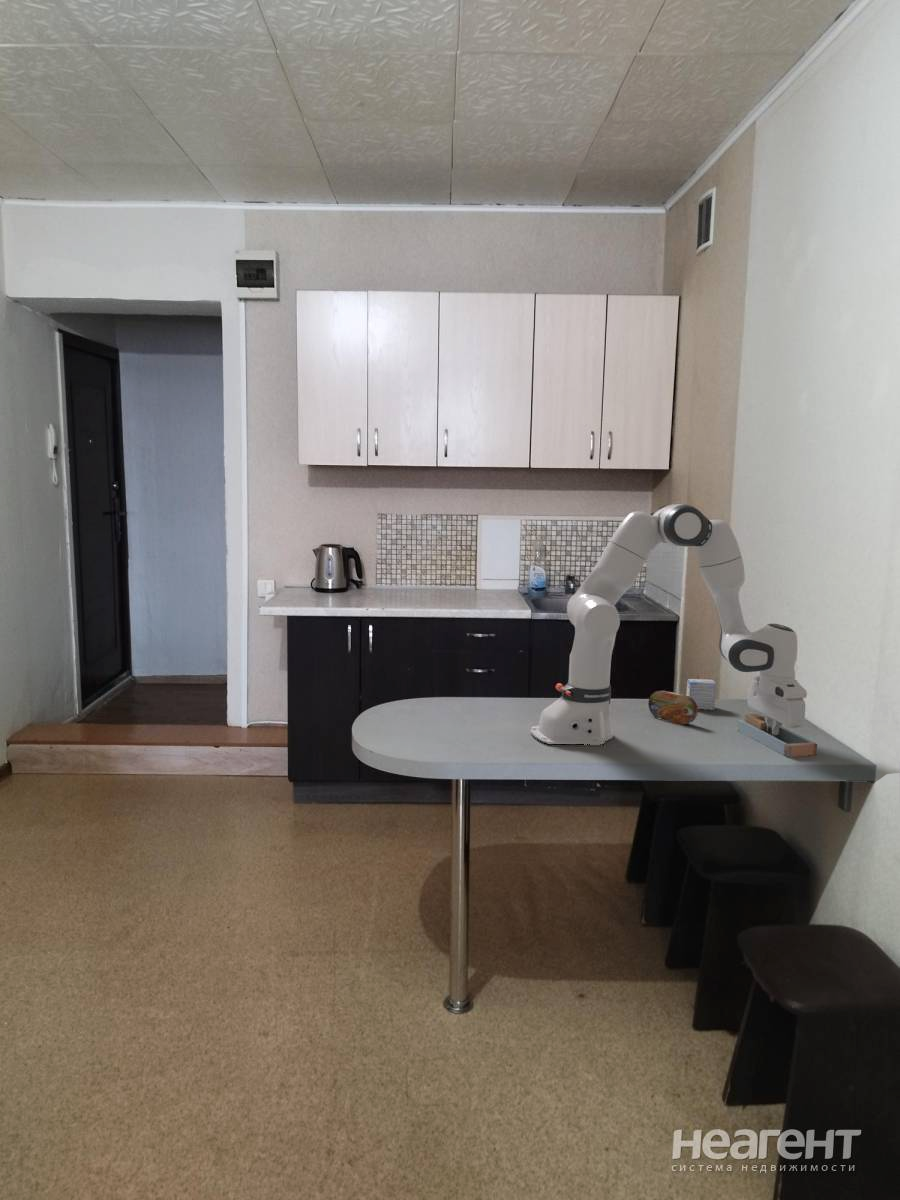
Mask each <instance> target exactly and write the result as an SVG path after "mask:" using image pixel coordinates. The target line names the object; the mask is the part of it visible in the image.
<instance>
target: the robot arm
mask: <svg viewBox="0 0 900 1200" xmlns="http://www.w3.org/2000/svg"><path fill="white" fill-rule="evenodd" d="M660 543H663V544H664V543H666V544H667V545H670V546H674V547H675V546H676V547H685V548H686V547H691V548H692V550H693V551H694V554H695V555H696V559H697V563H698V567H699V571H700V574H701V577H702V579H703V581H704V584H705V586H706V588H707V590H708V591H709V593H710V595H711V596H712V598H713V601H714V604H715V608H716V612H717V617H718V621H719V624H720V631H721V632H720V637H719V642H718V648H719V653H720V654H721V656H722V657H723V659H724V660H726V661H727V662H728V663H729V664H730V665H731V667H732V668H733V669H735V670H736V671H738V672H740V673H741V672H742V673H752V672H759V676H755V677H754V678H753V679H752V681H751V684H750V686H749V690H748V696H747V706H748V708H749V709H751V710H754V711H755V712H757V713H758V714H763V715H765V722H766V725H767V732H769V733H771V734H773V735H778V734H779V728H780V727H781V726H782V725H785V726H787V727H789V728H791V729H794V728H801V727H803V725H804V723H805V718H806V701H805V700H804V699H806V698H807V695H808V692H807V690H806V689H805V688H804V687H803V686H802V685H801V684H800V683H799V682H798V680H797V679H796V670H795V666H796V662H797V659H798V635H797V633H796V632H795V631H794V630H793V629H792V628H790V627H789V626H786V625H783V624H780V623H767V624H766V625H765V626H764V627H761V628H760V629H758V630H756V631H753V632H751V631H750V630H749V629H748V627H747V625H746V624H745V621H744V616H743V611H742V608H741V603H740V598H739V596H740V595H739V594H740V590H741V588H742V587H743V585H744V583H745V580H746V577H745V565H744V561H743V557H742V553H741V549H740V546H739V543H738V541H737V538H736V536H735V534H734V532H733V529H732V527H731V526H730V524H729V523H728V522H727V521H725V520H723V519H710V520H709V519H708V518H707V517H706V515H704V513H702V511H701V510H699V509H698V508H697V507H696V506H693V505H688V504H684V503H669V504H666V505H663V506H661V507H660V508H658V509H657V510H654V512H651V513H648V512H644V511H639V510H637V511H636V510H635V511H632V512H630V513H629V514H627V516H625V518H624V519H623V520H622V522H620V524H619V525H618V526H617V528H616V530H615V531H614V532H613V535H612V536H611V537H610V539H609V541H608V542H607V545H606V547H605V549H604V550H603V551H602V553H601V556H600V557H599V559H598V561H597V563H596V564H595V566H594V567H593V568H592V570H591V572H590V573H589V575H588V576H587V577H586V578H585V580H584V581H583V582H582V583H581V585H580V586H579V587H578V588H577V590H576V591H575V593H574V594H573V595H572V596H571V597H570V598H569V600H568V602H567V606H566V615H567V617H568V620H569V622H570V623H571V624H572V625H573V626H574V637H573V638H574V639H573V644H572V648H571V652H570V653H569V664H568V681H567V683H566V684H565V685H564V684H562V683H560V682H559V683H556V685H555V689H556V690H557V691H558V692H560V693H561V696H560V697H559V698H557V700H555V701H554V702H552V703H551V704H549V705H548V706H547V707H545V708H544V709H543V710H542V711H541V713H540V716H539V721H538V725H534V726H531V728H530V733H531V732H532V733H533V734H534V735H535V736H536V737H537V738H539V739H540V740H542V741H544V742H546V743H550V744H584V745H583V746H603V745H602V744H604V743H605V744H606V742H608V741H610V740H611V739H613V737H614V732H613V729H612V724H611V715H610V705H611V697H612V685H611V684H610V683H611V682H610V679H611V666H612V665H611V664H612V663H611V662H612V654H613V650H614V646H615V641H616V638H617V637H616V636H617V632H618V630H619V628H620V624H621V618H620V615H619V611H618V609H617V607H616V604H617V603H618V602H619V600H620V599H621V598H622V597H623V595H624V594H625V593H626V592H627V591H629V590H630V589H631V588H632V587H633V586H634V583H635V582H636V580H637V578H638V576H639V575H640V573H641V571H642V570H643V568H644V565H646V563H647V560H648V559H649V556H650V555H651V553H652V551H653V550H654V549H655V548H656V546H658V544H660ZM533 729H535V730H533ZM544 739H545V740H544ZM609 739H610V740H609ZM605 741H606V742H605ZM587 744H588V745H587ZM589 744H590V745H589ZM600 744H601V745H600ZM605 744H604V745H605Z"/></svg>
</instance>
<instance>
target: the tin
mask: <svg viewBox="0 0 900 1200" xmlns="http://www.w3.org/2000/svg"><path fill="white" fill-rule="evenodd" d="M686 695H687V694H685V695H684V694H681V693H676V692H673V691H672V692H671V691H667V690H657V691H654V692H653V693H651V695H650V696H649V699H648V702H647V703H648V709H649V712H650V713H651V715H652V716H653V717H654V718H656V717H658V718H661V719H663V720H662V721H665V720H667V721H666V722H669V721H670V723H674V724H678V725H687V724H690V723H693V722H694V721H695V720H696V719H697V717H698V713H699V709H698V707H697V704H696V702H695V701H694V700H693V699H692V698H691V697H689V696H686ZM658 718H657V719H658ZM661 719H660V720H661Z"/></svg>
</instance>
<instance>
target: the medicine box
mask: <svg viewBox="0 0 900 1200" xmlns="http://www.w3.org/2000/svg"><path fill="white" fill-rule="evenodd" d="M686 682H687V683H686V684H687V685H686V694H685V695H686V696H689V697H691V698H692V699H693V700H694V701H695V702H696V704H697V707H698V710H700V709H702V710H703V709H704V710H706V711H715V705H716V704H715V703H716V690H717V683H716V682H715V680H713V679H705V678H704V679H703V678H688V679H687V681H686ZM708 709H709V710H708ZM704 710H703V711H704Z"/></svg>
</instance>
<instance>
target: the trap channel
mask: <svg viewBox="0 0 900 1200" xmlns="http://www.w3.org/2000/svg"><path fill="white" fill-rule="evenodd" d="M737 731H738V732H740V733H741V734H743V735H745V736H747V737H749V738H751V739H753V740H754V739H755V740H754V741H756V740H757V742H758V741H759V742H758V743H760V744H762V745H764V746H765V745H767V746H768V748H769V747H770V748H769V749H771V748H772V749H771V750H773V749H774V750H773V751H775V752H777V753H778V752H779V754H780V753H781V755H782V754H783V756H784V757H786V758H795V757H809V756H808V755H810V756H817V750H818V749H817V748H818V743H816V742H815V741H812V740H811V739H809V738H806V737H804V736H802V735H800V734H798V733H795V732H794V731H792V730H790V729H787V728H785V727H783V726H782V725H781V727H780V728H779V734H778V735H776V736H777V737H774V736H772V735H770V734H768V733H766V732H764V731H762V730H760V729H758V728H756V727H754V726H752V725H750V724H748V723H746V722H744V720H742V719H738V720H737ZM778 737H779V738H778ZM780 738H781V739H780ZM782 739H783V740H782ZM784 740H785V741H784ZM786 741H787V742H786ZM767 746H766V747H767Z"/></svg>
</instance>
